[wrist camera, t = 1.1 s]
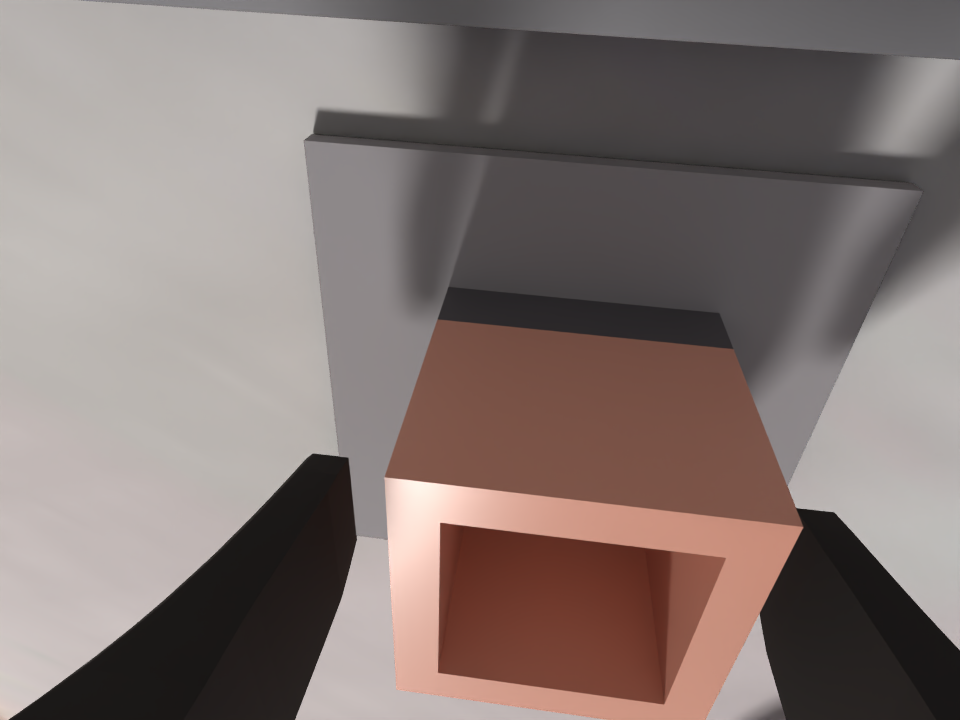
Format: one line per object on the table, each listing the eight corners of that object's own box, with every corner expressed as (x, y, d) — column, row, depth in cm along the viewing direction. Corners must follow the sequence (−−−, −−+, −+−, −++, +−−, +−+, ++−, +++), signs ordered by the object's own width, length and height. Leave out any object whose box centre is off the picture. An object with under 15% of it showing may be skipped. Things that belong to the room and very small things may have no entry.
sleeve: (719, 312, 11) (803, 526, 7) (661, 502, 14) (698, 732, 10) (448, 286, 12) (384, 477, 8) (444, 477, 15) (396, 689, 11)
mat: (912, 183, 10) (923, 191, 10) (738, 570, 16) (742, 584, 16) (311, 134, 11) (303, 140, 11) (352, 522, 17) (347, 534, 16)
